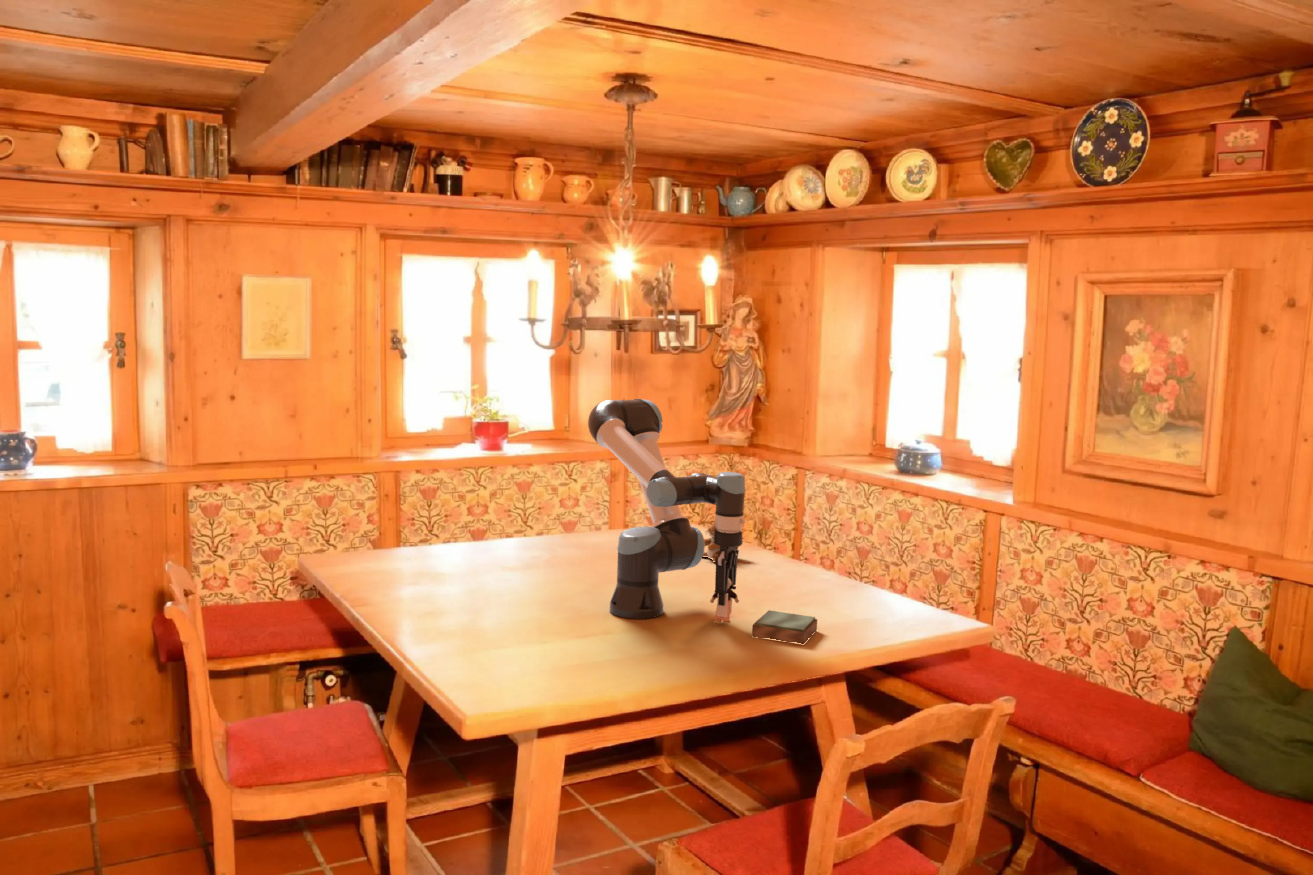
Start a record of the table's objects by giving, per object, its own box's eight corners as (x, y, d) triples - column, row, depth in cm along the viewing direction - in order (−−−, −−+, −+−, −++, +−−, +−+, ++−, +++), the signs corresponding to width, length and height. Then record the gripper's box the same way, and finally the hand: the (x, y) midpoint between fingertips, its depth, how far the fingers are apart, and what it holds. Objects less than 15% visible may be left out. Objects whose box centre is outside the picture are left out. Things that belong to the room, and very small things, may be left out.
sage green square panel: (751, 637, 275) (752, 622, 275) (766, 623, 288) (767, 609, 288) (803, 645, 270) (804, 630, 269) (816, 631, 283) (817, 616, 282)
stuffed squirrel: (696, 557, 364) (698, 520, 363) (732, 555, 370) (733, 518, 369) (709, 564, 355) (711, 526, 354) (745, 561, 361) (747, 524, 360)
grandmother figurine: (712, 624, 283) (714, 579, 281) (708, 619, 287) (710, 575, 284) (739, 623, 285) (741, 578, 282) (735, 618, 288) (737, 574, 286)
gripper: (732, 537, 273) (727, 624, 276) (750, 526, 288) (746, 609, 291) (705, 533, 276) (701, 620, 279) (724, 523, 291) (720, 605, 294)
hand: (724, 614), depth 285 cm, fingers closed on grandmother figurine, 3 cm apart
